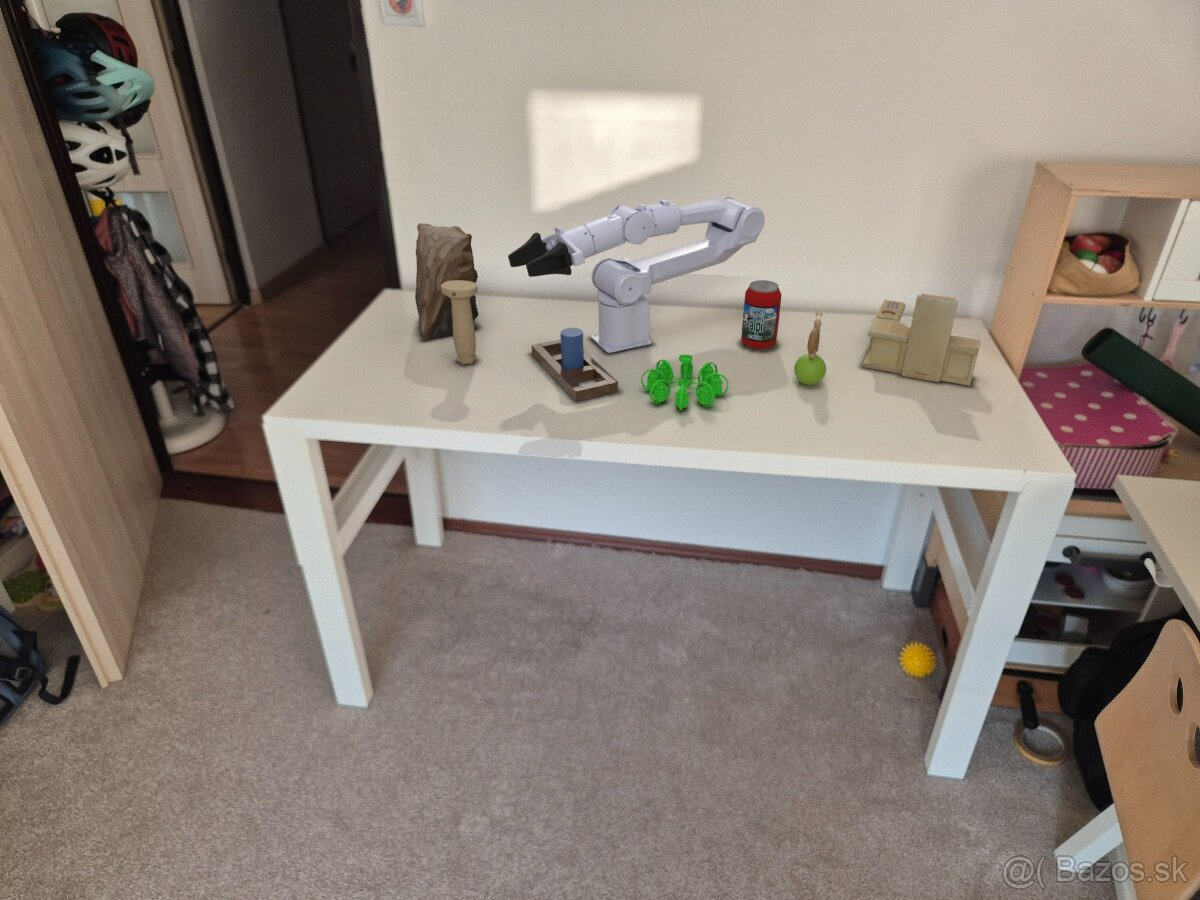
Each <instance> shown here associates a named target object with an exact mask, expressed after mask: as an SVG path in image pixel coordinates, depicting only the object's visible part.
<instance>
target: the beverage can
mask: <svg viewBox="0 0 1200 900" xmlns="http://www.w3.org/2000/svg"><path fill="white" fill-rule="evenodd" d="M781 303H782V292H781V289H780V286H779V284H778V283H776V282H774V281H772V280H765V279H762V280H760V279H759V280H753V281H751V282H750V283H749V286H748V287H747V289H746V290H745V292H744V302H743V311H742V313H743V314H742V322H741V323H742V324H741V325H742V326H741V338H740V339H741V342H742V344H744V345H745V346H747V347H748V348H749V349H752V350H758V351H759V350H767V349H769V348H771V347H774V346H775V344H777V340H778V332H779V324H780V313H781V306H782V305H781Z"/></svg>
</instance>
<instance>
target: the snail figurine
mask: <svg viewBox="0 0 1200 900" xmlns="http://www.w3.org/2000/svg"><path fill="white" fill-rule="evenodd" d="M815 316H816V317H815V318H816V319H815V320H814V321H813V328H812V329H811V331H810V333H809V336H808V340H807V352H808V353H805V354H802V355H801V356H800V357H798V359H797V360H796V361H795V363H794V368H793V372H794V375H795V378H796V379H797V380H798V381H799V382H800V383H801V384H804V385H807V386H813V385H816V384H818V383H820V382H821V381H822V380H823V379H824V377H825V376H826V373H827V365H826V362H825V360H824V359H823V358H822V357H821V356H820V355H818V354H817V353H818V351H819V347H820V338H821V337H820V335H821V326H822V320H821V319H822V316H823V312H819V311H815ZM818 316H820V317H819V318H818Z"/></svg>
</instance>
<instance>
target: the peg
mask: <svg viewBox="0 0 1200 900" xmlns="http://www.w3.org/2000/svg"><path fill="white" fill-rule="evenodd" d="M560 339H561V352H560V355H561V357H562V367H563V368H564V369H565V370H566V371H567V370H571V369H576V368H581V367H584V351H585V349H584V331H583V330H582V329H581V328H579V327H566V328H563V329H561V331H560Z"/></svg>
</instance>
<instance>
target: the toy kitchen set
mask: <svg viewBox="0 0 1200 900" xmlns="http://www.w3.org/2000/svg"><path fill="white" fill-rule="evenodd" d="M958 305H959V301H958V300H956V298H955V297H950V296H942V295H936V294H935V295H933V294H929V293H928V294H927V293H921V294H917V295H916V300H915V304H914V309H913V313H912V320H911V324H910V327H908V326H907V325H905V324H904V323H902V322H901V319H902V316H903V314H904V311H905V309H906V303H905V302H903V301H898V300H897V301H896V300H890V299H884V300H883V302H882V304H881V305H880V308H879V309H878V312H877V314H876V316H875V317H874V318H873V320H872V322H871V325H870V326H869V329H868V332H867V337H870V341H869V342H870V343H869V349H868V351H867V353H866V355H865V357H864V360H863V362H862V368H864V369H871V370H877V371H883V372H889V373H894V374H900V375H901V376H902V377H907V378H912V379H919V380H923V381H924V380H925V381H931V382H935V383H940V382H947V383H952V384H958V385H963V386H971V383H972V379H973V375H974V374H973V373H974V370H975V366H976V363H977V359H978V356H979V351H980V347H981V343H982V340H981V339H977V338H971V337H965V336H958V335H952V331H953V327H954V326H953V325H954V321H955V316H956V313H957V308H958Z"/></svg>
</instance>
